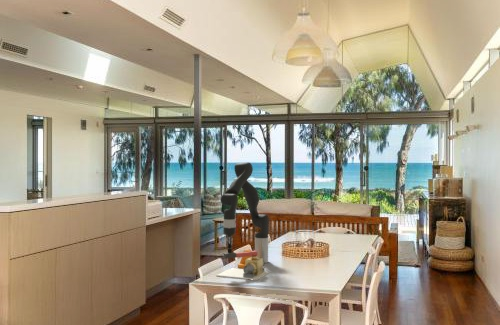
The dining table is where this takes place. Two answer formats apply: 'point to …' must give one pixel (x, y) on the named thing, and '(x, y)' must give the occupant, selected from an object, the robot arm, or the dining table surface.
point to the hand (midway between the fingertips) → (229, 254)
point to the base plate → (239, 274)
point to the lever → (240, 254)
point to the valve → (253, 267)
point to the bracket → (243, 260)
